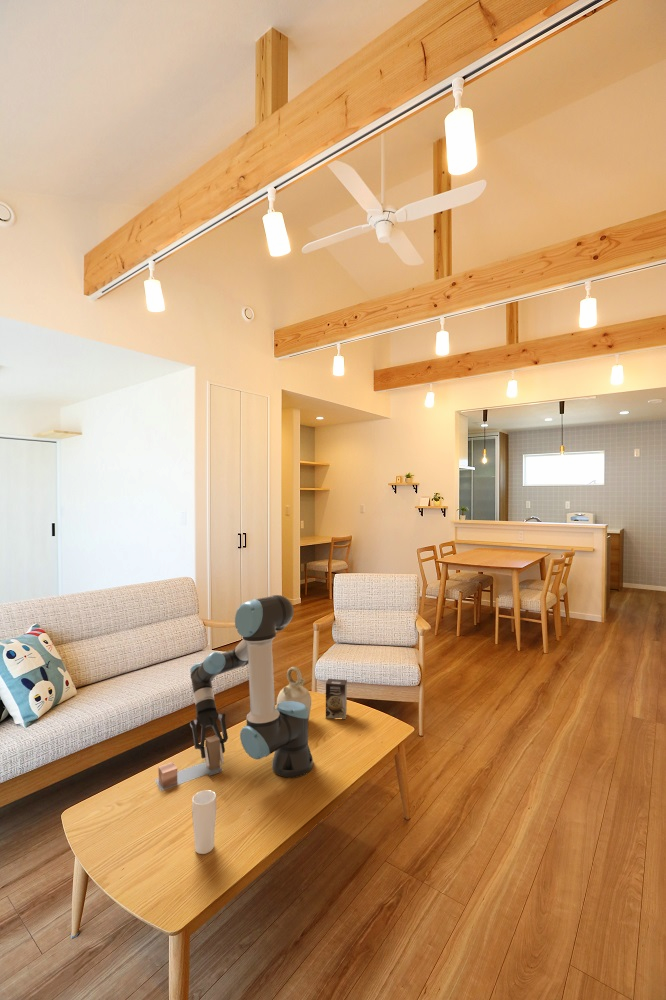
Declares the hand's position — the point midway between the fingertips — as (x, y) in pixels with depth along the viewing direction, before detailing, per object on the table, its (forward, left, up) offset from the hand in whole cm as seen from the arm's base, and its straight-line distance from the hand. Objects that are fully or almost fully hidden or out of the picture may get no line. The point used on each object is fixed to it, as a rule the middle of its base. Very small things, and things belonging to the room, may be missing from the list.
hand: (215, 764), depth 174 cm
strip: (+4, +8, -3) cm, 10 cm away
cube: (+4, +16, -2) cm, 16 cm away
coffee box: (+9, -62, -3) cm, 63 cm away
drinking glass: (-33, +17, -3) cm, 37 cm away
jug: (+15, -43, -3) cm, 46 cm away
